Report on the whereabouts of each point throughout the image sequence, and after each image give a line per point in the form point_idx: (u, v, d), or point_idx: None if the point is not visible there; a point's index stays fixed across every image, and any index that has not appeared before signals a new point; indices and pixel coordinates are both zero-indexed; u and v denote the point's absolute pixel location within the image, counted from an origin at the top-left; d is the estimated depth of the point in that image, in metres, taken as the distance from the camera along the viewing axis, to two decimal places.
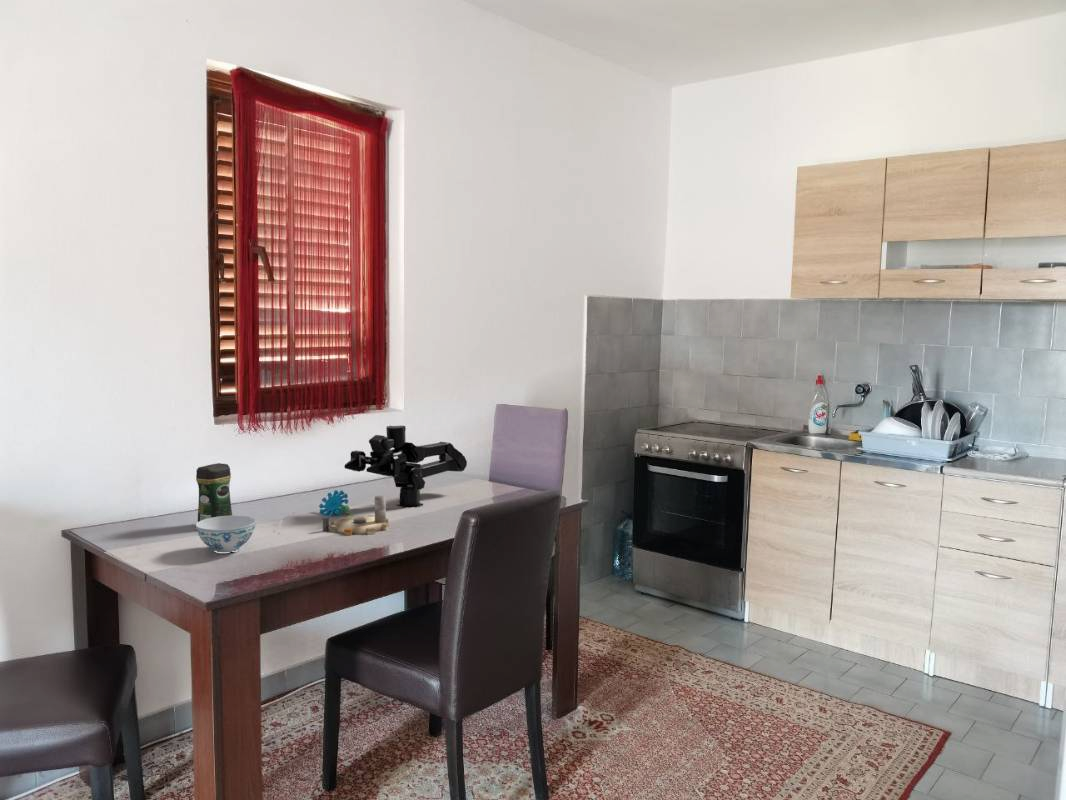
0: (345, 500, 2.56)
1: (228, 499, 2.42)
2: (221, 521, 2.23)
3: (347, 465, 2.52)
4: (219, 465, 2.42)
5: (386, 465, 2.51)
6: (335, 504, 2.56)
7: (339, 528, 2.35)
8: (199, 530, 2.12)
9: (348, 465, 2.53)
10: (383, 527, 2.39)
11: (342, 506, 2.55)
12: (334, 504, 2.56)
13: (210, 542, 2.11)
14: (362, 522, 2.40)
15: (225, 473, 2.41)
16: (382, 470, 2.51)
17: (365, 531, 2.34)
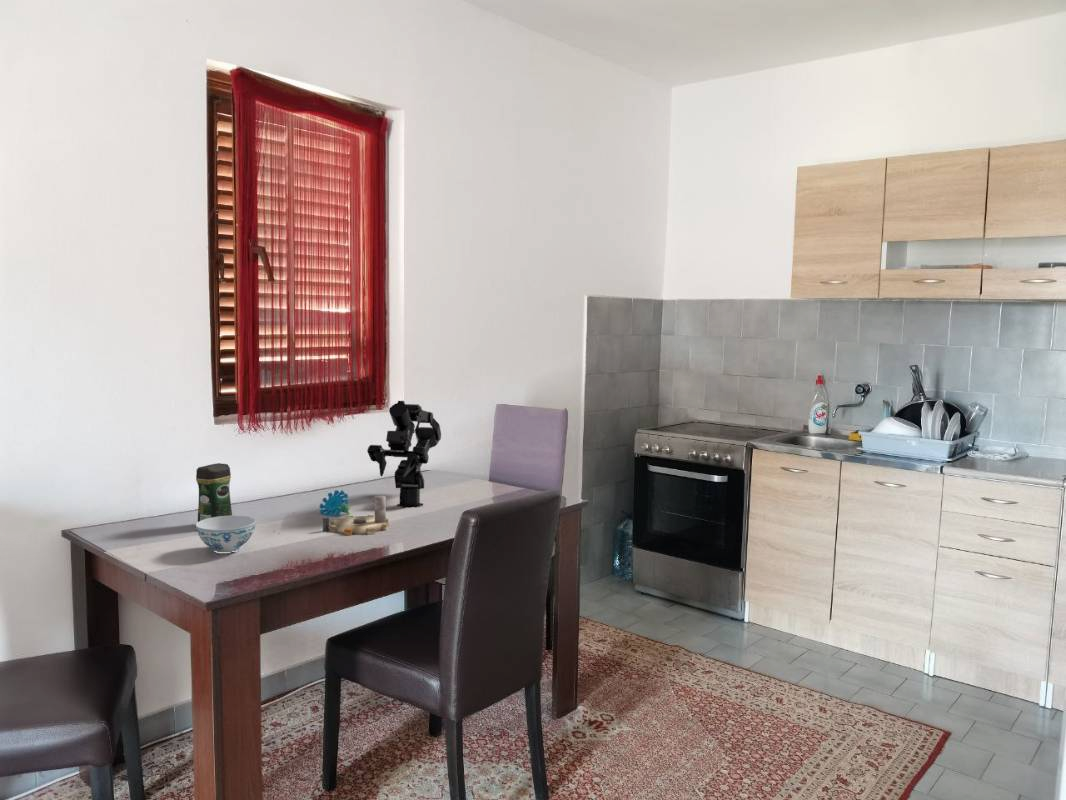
0: (345, 500, 2.56)
1: (228, 499, 2.42)
2: (221, 521, 2.23)
3: (382, 472, 2.53)
4: (219, 465, 2.42)
5: (413, 459, 2.55)
6: (335, 504, 2.56)
7: (339, 528, 2.35)
8: (199, 530, 2.12)
9: (382, 471, 2.54)
10: (383, 527, 2.39)
11: (342, 506, 2.55)
12: (334, 504, 2.57)
13: (210, 542, 2.11)
14: (362, 522, 2.40)
15: (225, 473, 2.41)
16: (411, 464, 2.56)
17: (365, 531, 2.34)
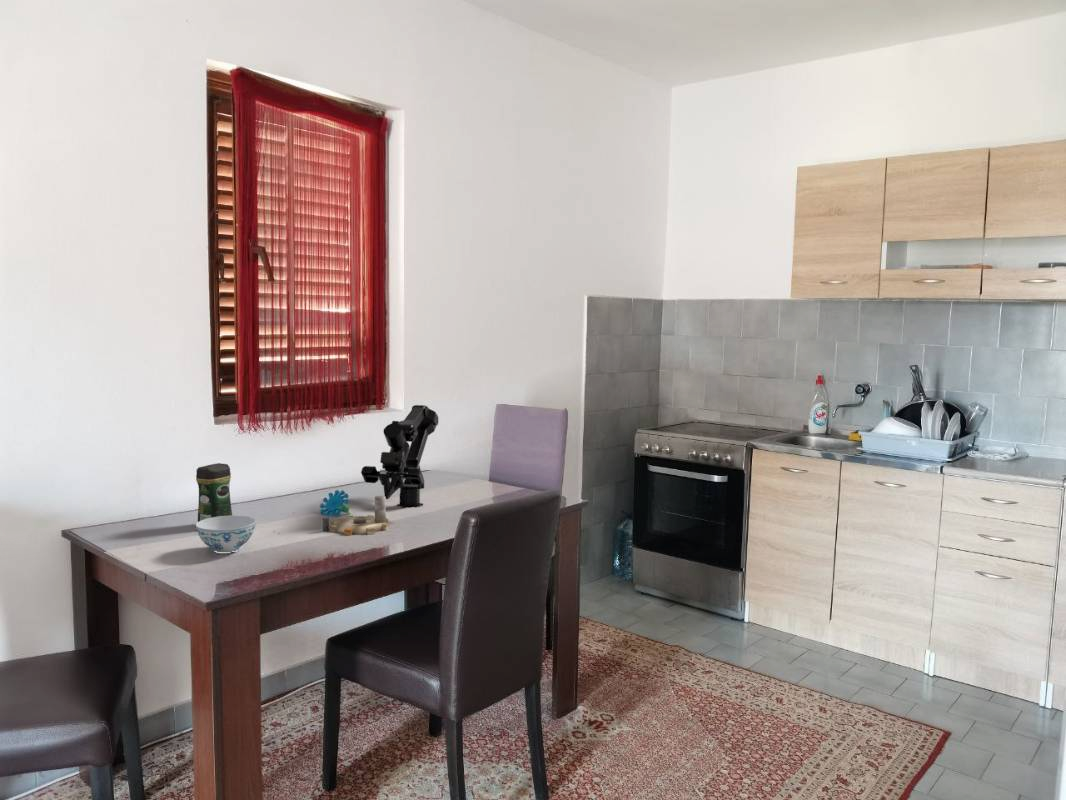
0: (345, 500, 2.56)
1: (228, 499, 2.42)
2: (221, 521, 2.23)
3: None
4: (219, 465, 2.42)
5: (397, 480, 2.51)
6: (336, 504, 2.57)
7: (339, 528, 2.35)
8: (199, 530, 2.12)
9: None
10: (383, 527, 2.39)
11: (342, 506, 2.55)
12: (335, 504, 2.57)
13: (210, 542, 2.11)
14: (362, 522, 2.40)
15: (225, 473, 2.41)
16: (396, 485, 2.51)
17: (365, 531, 2.34)
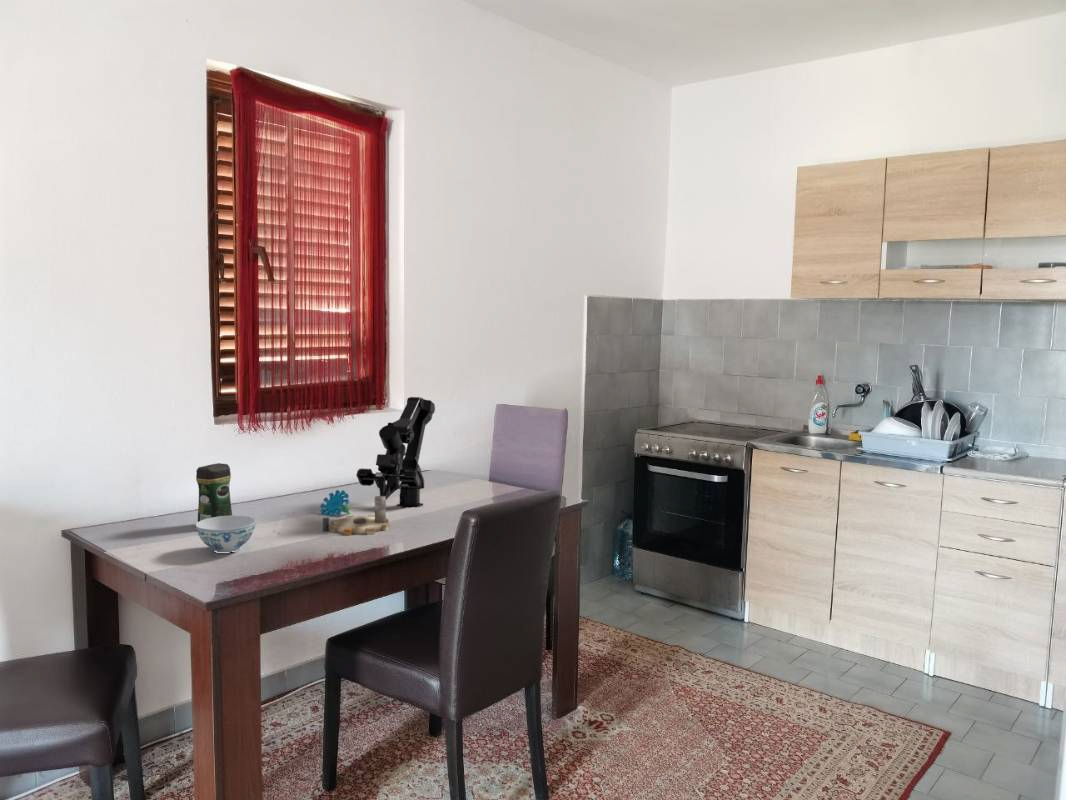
0: (346, 500, 2.56)
1: (228, 499, 2.42)
2: (221, 521, 2.23)
3: None
4: (219, 465, 2.42)
5: (394, 483, 2.47)
6: (336, 504, 2.57)
7: (339, 528, 2.35)
8: (199, 530, 2.12)
9: None
10: (383, 527, 2.39)
11: (343, 506, 2.55)
12: (335, 504, 2.57)
13: (210, 542, 2.11)
14: (362, 522, 2.40)
15: (225, 473, 2.41)
16: (392, 488, 2.47)
17: (365, 531, 2.34)
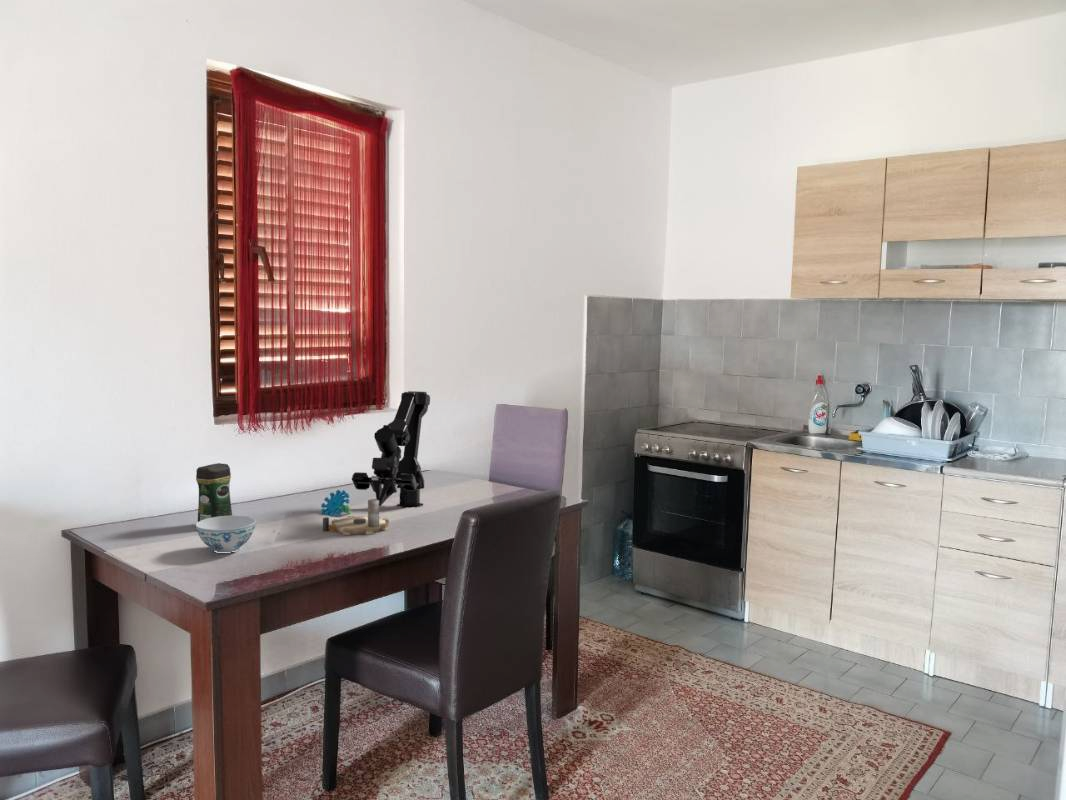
0: (346, 500, 2.56)
1: (228, 499, 2.42)
2: (221, 521, 2.23)
3: (379, 502, 2.39)
4: (219, 465, 2.42)
5: (390, 486, 2.42)
6: (336, 504, 2.57)
7: (334, 523, 2.41)
8: (199, 530, 2.12)
9: None
10: (365, 531, 2.34)
11: (343, 506, 2.55)
12: (335, 504, 2.57)
13: (210, 542, 2.11)
14: (357, 522, 2.39)
15: (225, 473, 2.41)
16: (388, 492, 2.43)
17: None
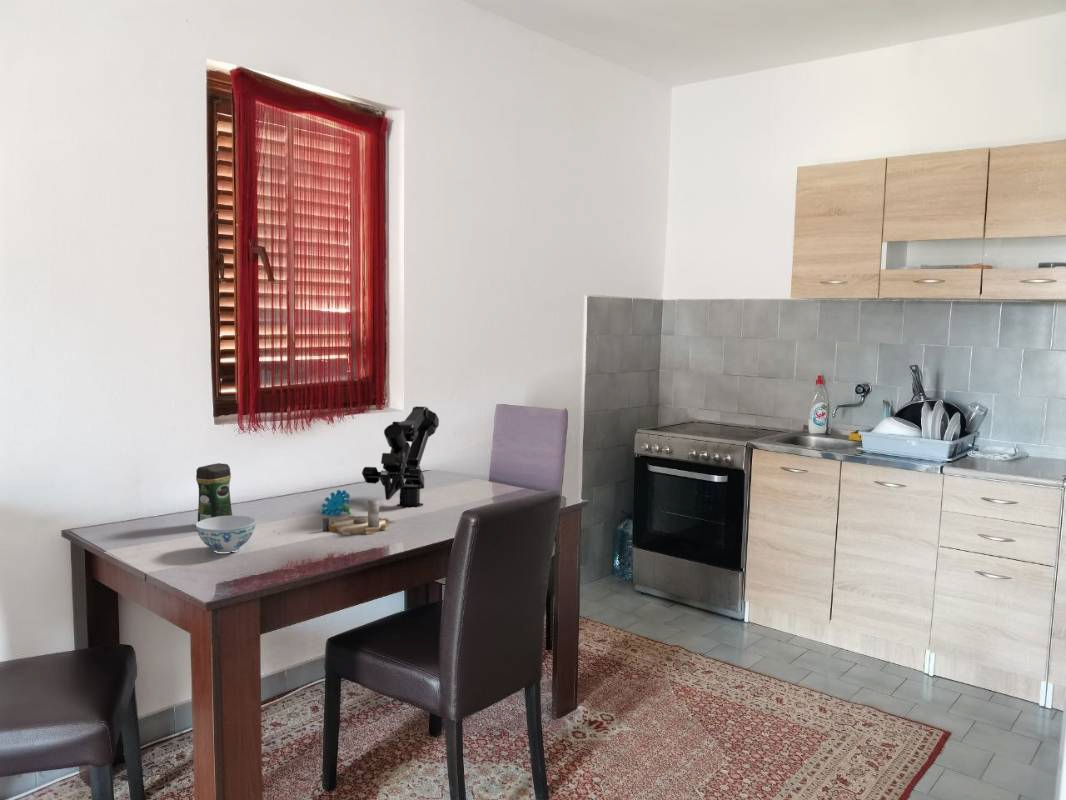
0: (346, 500, 2.56)
1: (228, 499, 2.42)
2: (221, 521, 2.23)
3: None
4: (219, 465, 2.42)
5: (398, 481, 2.52)
6: (337, 504, 2.57)
7: (334, 523, 2.41)
8: (199, 530, 2.12)
9: None
10: (365, 531, 2.34)
11: (343, 506, 2.55)
12: (336, 504, 2.57)
13: (210, 542, 2.11)
14: (357, 522, 2.39)
15: (225, 473, 2.41)
16: (396, 486, 2.52)
17: None
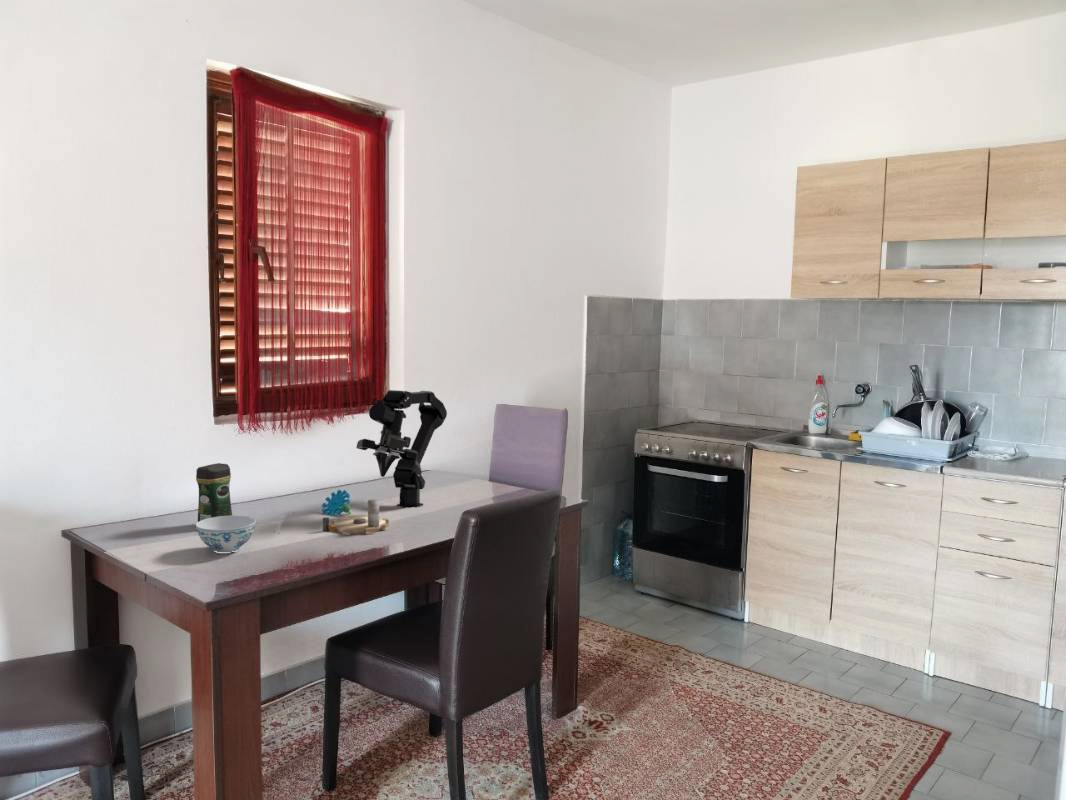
0: (347, 500, 2.56)
1: (228, 499, 2.42)
2: (221, 521, 2.23)
3: None
4: (219, 465, 2.42)
5: None
6: (337, 504, 2.57)
7: (334, 523, 2.41)
8: (199, 530, 2.12)
9: None
10: (365, 531, 2.34)
11: (343, 506, 2.55)
12: (336, 504, 2.57)
13: (210, 542, 2.11)
14: (357, 522, 2.39)
15: (225, 473, 2.41)
16: None
17: None
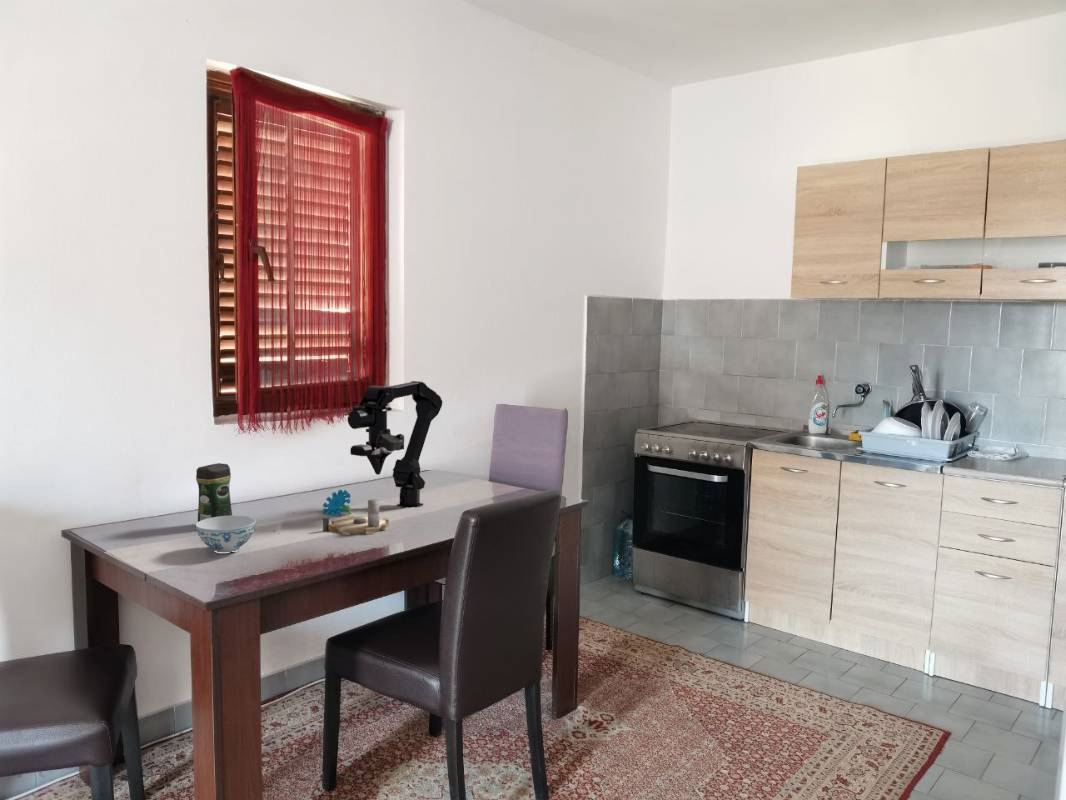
0: (347, 500, 2.56)
1: (228, 499, 2.42)
2: (221, 521, 2.23)
3: None
4: (219, 465, 2.42)
5: None
6: (337, 504, 2.57)
7: (334, 523, 2.41)
8: (199, 530, 2.12)
9: None
10: (365, 531, 2.34)
11: (344, 506, 2.55)
12: (337, 504, 2.57)
13: (210, 542, 2.11)
14: (357, 522, 2.39)
15: (225, 473, 2.41)
16: None
17: None
